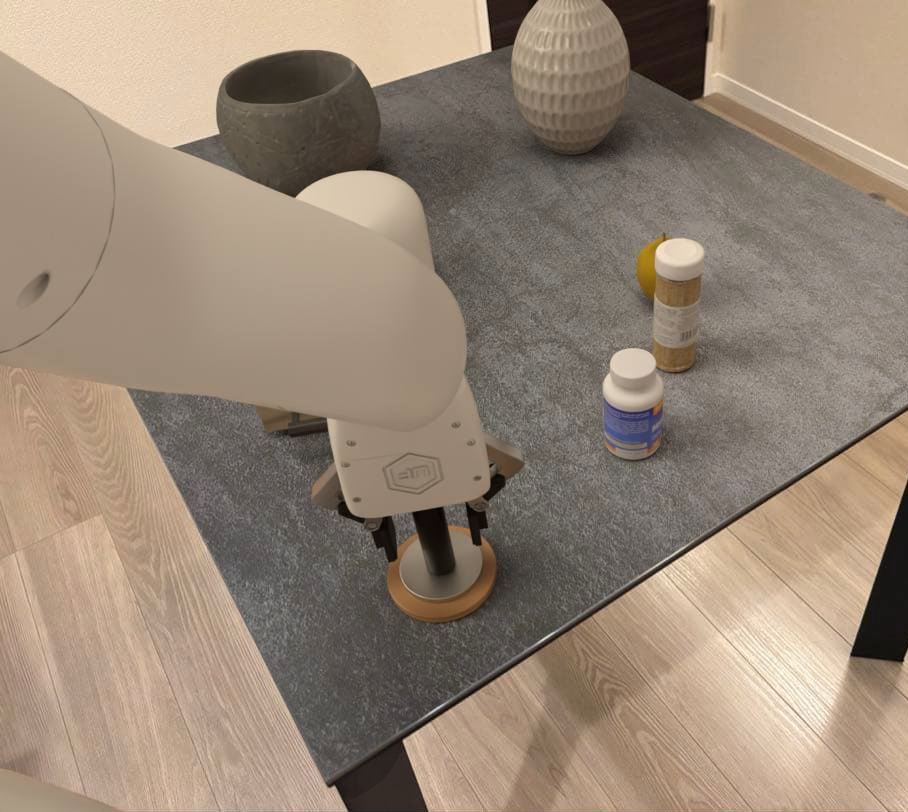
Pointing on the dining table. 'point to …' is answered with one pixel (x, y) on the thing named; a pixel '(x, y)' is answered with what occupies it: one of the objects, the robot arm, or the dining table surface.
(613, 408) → the pill bottle
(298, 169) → the bowl
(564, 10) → the vase
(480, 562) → the rod on disc base
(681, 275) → the sprinkles bottle
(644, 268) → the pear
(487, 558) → the disc
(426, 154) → the dining table surface
